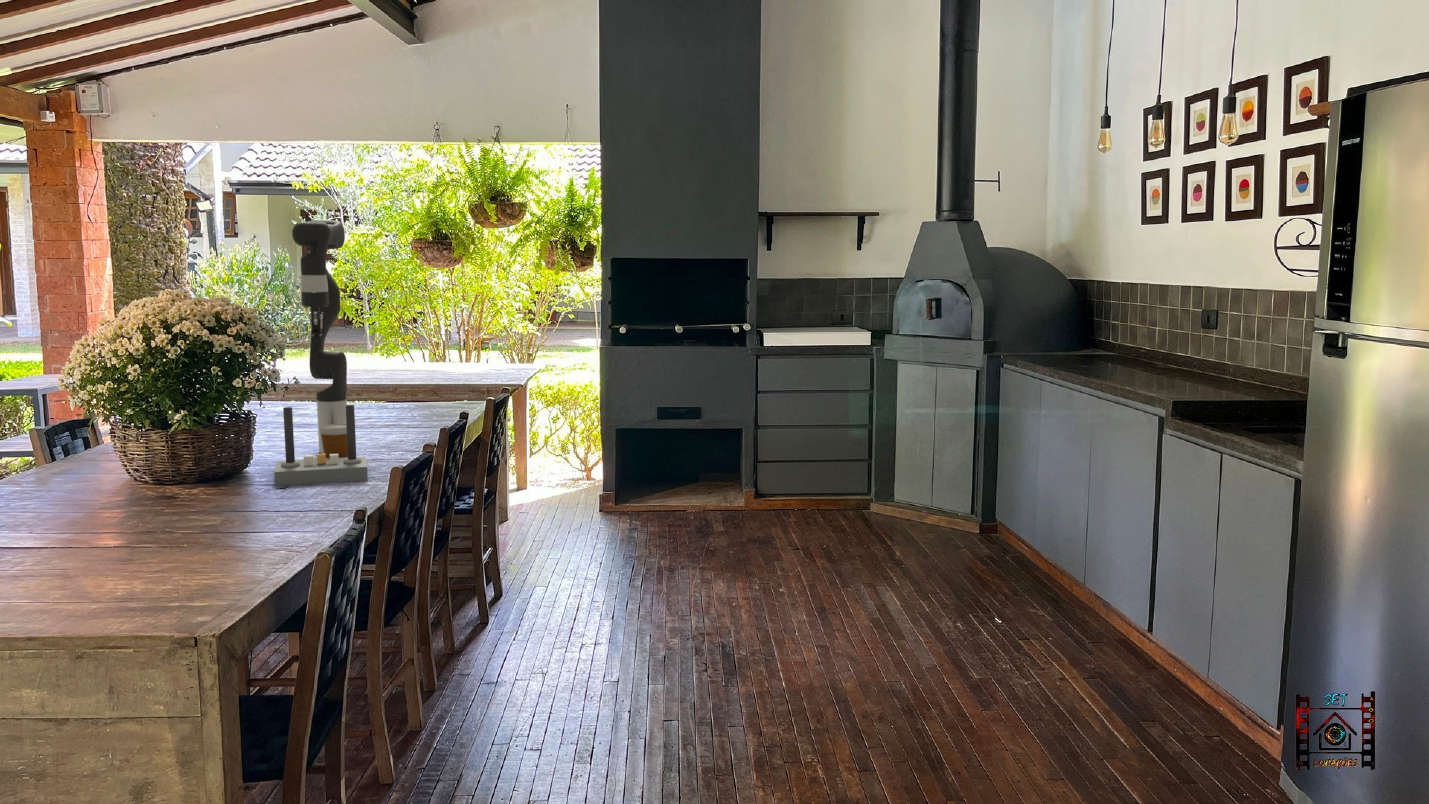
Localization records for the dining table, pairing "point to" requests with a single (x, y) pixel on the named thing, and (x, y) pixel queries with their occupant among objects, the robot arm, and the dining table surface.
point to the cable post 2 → (351, 436)
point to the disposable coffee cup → (334, 439)
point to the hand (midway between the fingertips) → (317, 348)
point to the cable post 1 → (289, 439)
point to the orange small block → (321, 458)
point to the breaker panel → (320, 471)
